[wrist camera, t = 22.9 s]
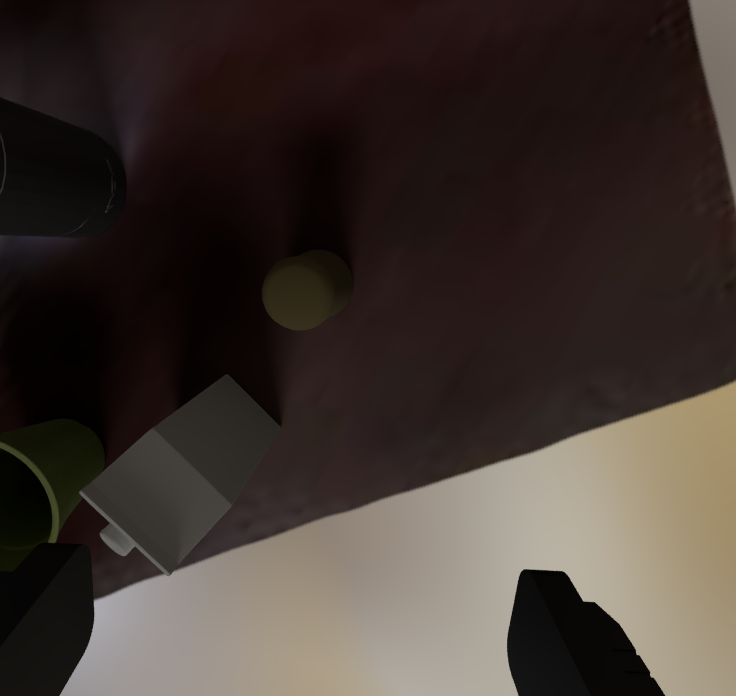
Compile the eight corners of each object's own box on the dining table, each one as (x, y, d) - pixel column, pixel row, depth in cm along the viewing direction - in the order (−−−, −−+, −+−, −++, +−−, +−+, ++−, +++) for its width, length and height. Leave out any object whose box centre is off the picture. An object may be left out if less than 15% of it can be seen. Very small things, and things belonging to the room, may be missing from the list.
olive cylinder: (302, 237, 45) (272, 234, 35) (365, 268, 46) (354, 275, 35) (273, 300, 47) (236, 316, 36) (335, 330, 47) (316, 355, 36)
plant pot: (72, 533, 52) (-15, 609, 41) (-13, 443, 51) (-128, 498, 40) (157, 463, 50) (89, 524, 39) (70, 368, 49) (-26, 404, 38)
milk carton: (227, 372, 48) (119, 451, 29) (282, 427, 49) (210, 538, 30) (176, 422, 49) (40, 529, 31) (230, 475, 50) (130, 611, 31)
